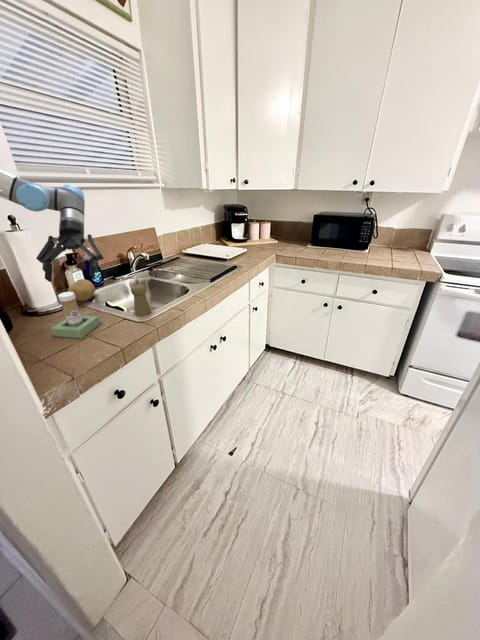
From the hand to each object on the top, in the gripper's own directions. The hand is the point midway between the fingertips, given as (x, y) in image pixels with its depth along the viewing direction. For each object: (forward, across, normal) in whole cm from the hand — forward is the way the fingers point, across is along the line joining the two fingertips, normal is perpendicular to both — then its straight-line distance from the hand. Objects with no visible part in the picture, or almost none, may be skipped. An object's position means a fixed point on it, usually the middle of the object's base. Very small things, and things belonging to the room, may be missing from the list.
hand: (70, 278), depth 88 cm
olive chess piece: (+10, -20, -14) cm, 26 cm away
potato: (-3, +6, -27) cm, 28 cm away
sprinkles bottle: (+16, 0, -7) cm, 18 cm away
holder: (+16, 0, -7) cm, 18 cm away
